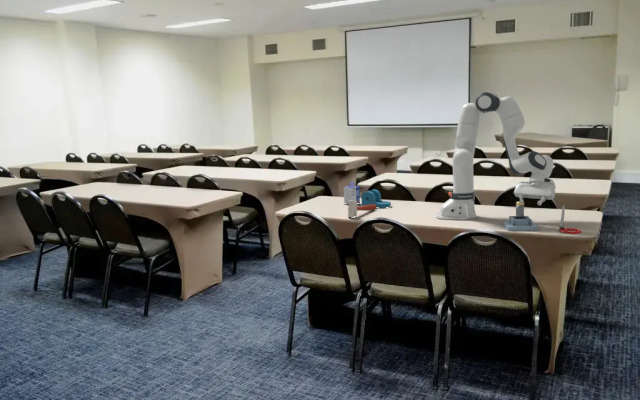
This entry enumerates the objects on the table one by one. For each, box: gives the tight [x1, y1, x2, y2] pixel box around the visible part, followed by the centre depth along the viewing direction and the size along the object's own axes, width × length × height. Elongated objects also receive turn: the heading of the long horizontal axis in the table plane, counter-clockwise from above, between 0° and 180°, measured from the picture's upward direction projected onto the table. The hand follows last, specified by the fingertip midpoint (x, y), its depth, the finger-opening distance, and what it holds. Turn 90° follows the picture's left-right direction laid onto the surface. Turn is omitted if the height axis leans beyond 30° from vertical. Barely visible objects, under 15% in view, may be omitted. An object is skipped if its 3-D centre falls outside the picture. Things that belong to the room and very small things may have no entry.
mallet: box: [347, 200, 377, 218], centre depth 315 cm, size 11×4×30 cm
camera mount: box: [360, 188, 392, 209], centre depth 337 cm, size 18×10×10 cm, turn 57°
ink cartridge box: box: [343, 182, 361, 204], centre depth 349 cm, size 10×6×14 cm, turn 57°
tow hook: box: [558, 205, 582, 235], centre depth 247 cm, size 8×13×9 cm
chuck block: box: [502, 215, 539, 232], centre depth 261 cm, size 14×14×5 cm
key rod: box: [515, 201, 525, 219], centre depth 260 cm, size 4×4×11 cm
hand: (529, 203), depth 267 cm, fingers open, 8 cm apart
